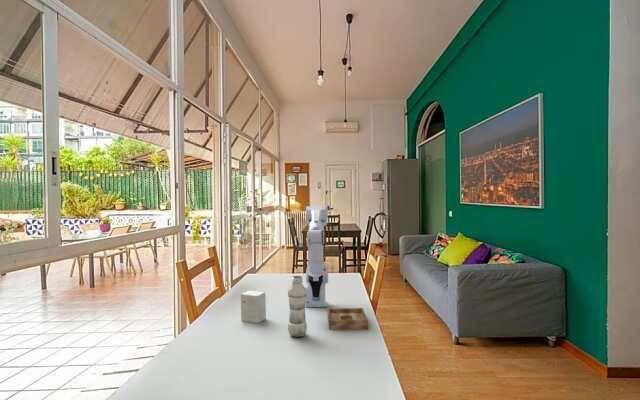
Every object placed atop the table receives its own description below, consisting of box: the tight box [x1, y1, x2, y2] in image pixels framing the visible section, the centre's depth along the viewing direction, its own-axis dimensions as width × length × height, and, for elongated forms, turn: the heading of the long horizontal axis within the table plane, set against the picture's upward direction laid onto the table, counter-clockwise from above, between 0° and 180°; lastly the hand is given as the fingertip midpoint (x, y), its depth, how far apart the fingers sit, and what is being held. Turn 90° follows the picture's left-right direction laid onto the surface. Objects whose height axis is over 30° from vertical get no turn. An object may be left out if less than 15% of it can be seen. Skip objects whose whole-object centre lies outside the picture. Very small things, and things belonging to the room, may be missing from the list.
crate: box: [327, 307, 369, 331], centre depth 131 cm, size 14×14×3 cm
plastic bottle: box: [287, 275, 308, 338], centre depth 118 cm, size 6×7×20 cm
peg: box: [312, 294, 320, 301], centre depth 134 cm, size 3×3×6 cm
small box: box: [240, 290, 267, 324], centre depth 134 cm, size 8×6×10 cm
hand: (316, 295), depth 134 cm, fingers closed on peg, 3 cm apart
